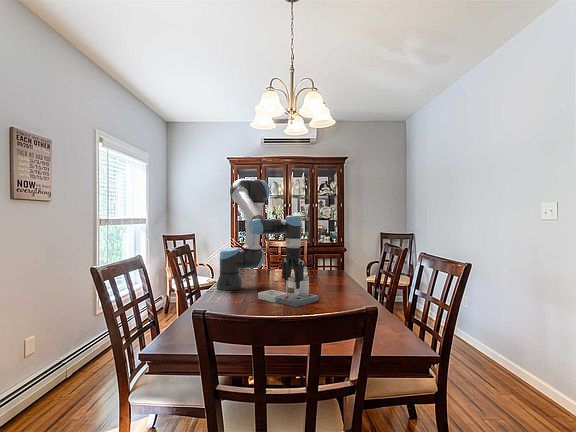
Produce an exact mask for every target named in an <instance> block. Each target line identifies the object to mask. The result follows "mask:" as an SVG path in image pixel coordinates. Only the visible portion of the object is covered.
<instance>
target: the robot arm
mask: <svg viewBox="0 0 576 432" xmlns="http://www.w3.org/2000/svg"><path fill="white" fill-rule="evenodd" d="M270 192H271V191H270V186H269V184H268V183H267V181H266V180H264V179H263V180H262V179H250V178H240V179H237V180H235V181H234V182H233V183H232V184H231V186H230V188H229V194H230V198H231V199H232V200H233V202H234V203H237V205H238V206H239V208H240V210H241V212H243V214H244V215H245V218H246V226H245V227H246V228H245V240H244V244H243V245H242V246H241V248H240V247H228V248H225V249H221V251H220V252H219V276H218V279H217V283H216V289H217V290H220V291H236V290H241V289H242V288H243V281H242V278H241V276H240V270H247V269H249V270H250V269H253V270H254V269H258V268H261V267H262V265H264V261H265V251H264V250H263V249H262V246H261V245H260V238H261V235H285V246H286V247H285V251H284V253H285V255H286V256H285V258H281V259H280V260H281V269H282V270H281V278H282V279H284V281H285V282H284V284H285V285H284V286H285V293H286V294H288V277H291V276H292V271H293V269H294V274H295V282H294V296H296V295H299V288H300V282H301V281H303V280H304V267H305V260H302V259H301V258H300V256H301V253H302V251H301V250H302V249H301V246H302V242H301V241H302V239H301V237H302V217H301V216H300V215H286V217H285V219H284V218H278V219H277V218H274V219H273V218H271V219H270V218H267V219H266V218H265V217H264V216H263V213H262V212H263V211H262V210H263V205H264V204H265V203H266V200H268V199H269V197H270Z"/></svg>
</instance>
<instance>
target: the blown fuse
mask: <svg viewBox="0 0 576 432" xmlns="http://www.w3.org/2000/svg"><path fill="white" fill-rule="evenodd" d="M294 282H295V277H292V276H290V277H288V299H289V300H297V295H296V296H294Z"/></svg>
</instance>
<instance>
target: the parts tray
mask: <svg viewBox="0 0 576 432" xmlns="http://www.w3.org/2000/svg"><path fill="white" fill-rule="evenodd" d="M285 295H286V296H287V295H288V294H286V292H284V291H279V290H273V289H269V290H264V291H260V292H257V299H258V300H262V301H265V300H266V302H269V303H277V298H278V297H282V296H285Z"/></svg>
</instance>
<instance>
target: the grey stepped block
mask: <svg viewBox="0 0 576 432" xmlns="http://www.w3.org/2000/svg"><path fill="white" fill-rule="evenodd" d="M308 275H309V273H308V266H304V276H308ZM291 277H295V274H294V269H293V268H292V272H291ZM299 292H300V288H299Z"/></svg>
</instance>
